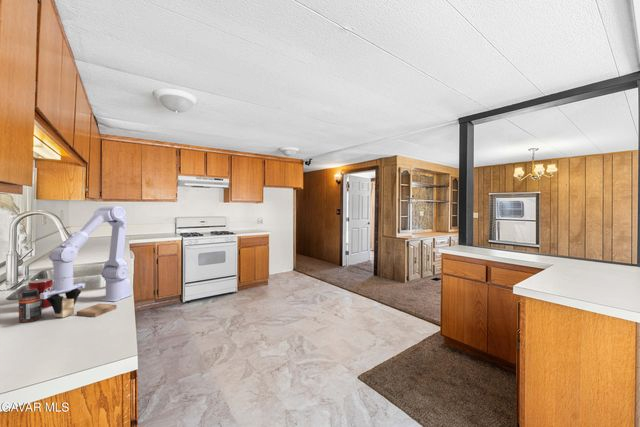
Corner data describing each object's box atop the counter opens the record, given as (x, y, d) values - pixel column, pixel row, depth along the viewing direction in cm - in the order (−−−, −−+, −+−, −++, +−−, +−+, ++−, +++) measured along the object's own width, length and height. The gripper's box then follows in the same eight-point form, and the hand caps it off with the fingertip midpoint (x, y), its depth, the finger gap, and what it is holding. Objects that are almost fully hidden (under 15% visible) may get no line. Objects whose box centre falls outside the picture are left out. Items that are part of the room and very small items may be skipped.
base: (98, 307, 115) (98, 303, 115) (116, 308, 114) (116, 304, 114) (76, 315, 106) (76, 311, 106) (95, 316, 105) (95, 312, 105)
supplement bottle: (16, 320, 101) (16, 291, 101) (38, 315, 106) (38, 287, 106) (22, 324, 98) (21, 293, 98) (44, 318, 103) (43, 289, 103)
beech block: (65, 312, 108) (65, 298, 108) (73, 313, 107) (73, 298, 107) (54, 316, 104) (54, 301, 104) (62, 317, 103) (62, 302, 103)
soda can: (53, 303, 119) (52, 277, 119) (53, 308, 114) (52, 280, 113) (29, 308, 114) (28, 280, 114) (27, 312, 109) (27, 283, 108)
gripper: (75, 272, 113) (75, 303, 113) (33, 281, 99) (33, 317, 99) (88, 273, 112) (89, 304, 112) (48, 282, 98) (49, 319, 98)
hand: (64, 311), depth 106 cm, fingers closed on beech block, 4 cm apart
